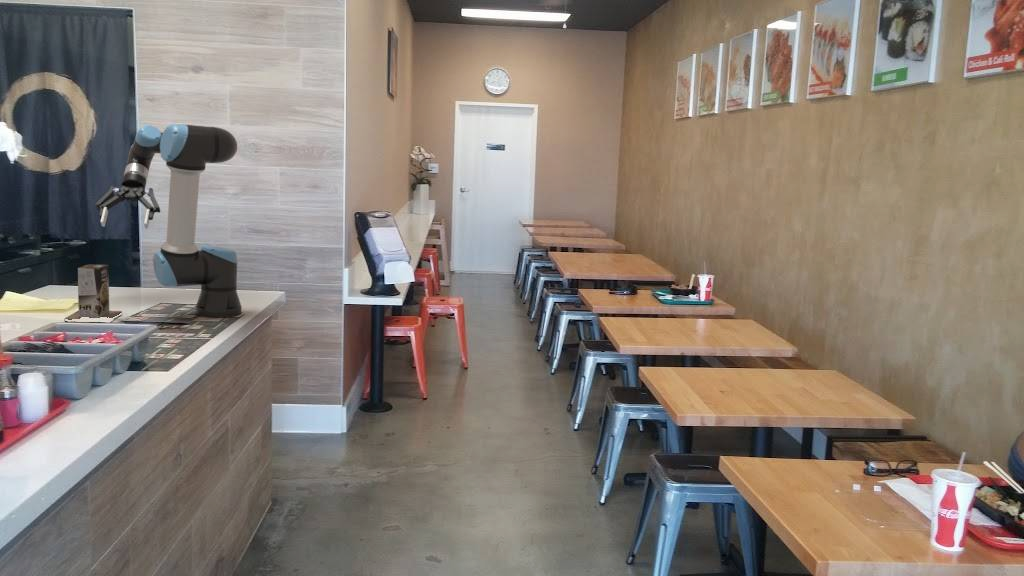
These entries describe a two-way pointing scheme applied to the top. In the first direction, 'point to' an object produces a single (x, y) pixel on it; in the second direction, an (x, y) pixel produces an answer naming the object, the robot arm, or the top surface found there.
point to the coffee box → (93, 290)
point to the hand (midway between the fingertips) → (124, 225)
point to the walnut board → (110, 315)
